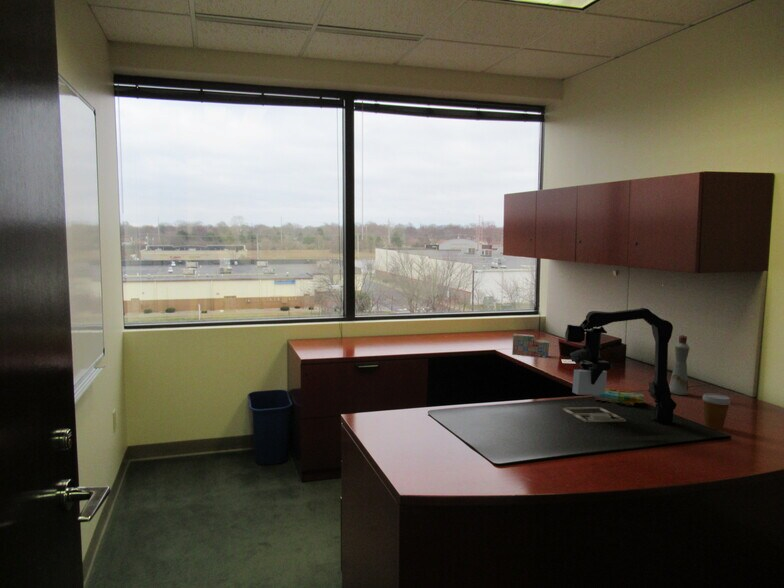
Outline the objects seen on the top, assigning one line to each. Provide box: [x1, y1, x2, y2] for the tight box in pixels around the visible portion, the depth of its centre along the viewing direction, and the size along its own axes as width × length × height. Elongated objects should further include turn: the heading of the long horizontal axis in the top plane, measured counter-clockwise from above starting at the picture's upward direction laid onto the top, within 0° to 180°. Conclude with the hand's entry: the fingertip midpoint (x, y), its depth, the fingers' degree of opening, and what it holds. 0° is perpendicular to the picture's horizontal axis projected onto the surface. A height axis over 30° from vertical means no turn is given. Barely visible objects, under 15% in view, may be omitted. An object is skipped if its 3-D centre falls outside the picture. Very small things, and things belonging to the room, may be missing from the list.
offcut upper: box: [588, 414, 612, 420], centre depth 221 cm, size 3×7×2 cm, turn 95°
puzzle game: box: [592, 387, 645, 406], centre depth 254 cm, size 12×5×20 cm
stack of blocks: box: [511, 333, 550, 358], centre depth 356 cm, size 21×6×12 cm, turn 78°
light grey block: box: [571, 369, 608, 396], centre depth 229 cm, size 4×12×9 cm, turn 104°
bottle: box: [668, 334, 690, 396], centre depth 274 cm, size 9×9×28 cm
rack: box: [561, 406, 627, 423], centre depth 226 cm, size 17×17×2 cm
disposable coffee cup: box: [701, 392, 731, 431], centre depth 222 cm, size 10×10×12 cm
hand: (589, 383), depth 229 cm, fingers closed on light grey block, 4 cm apart
